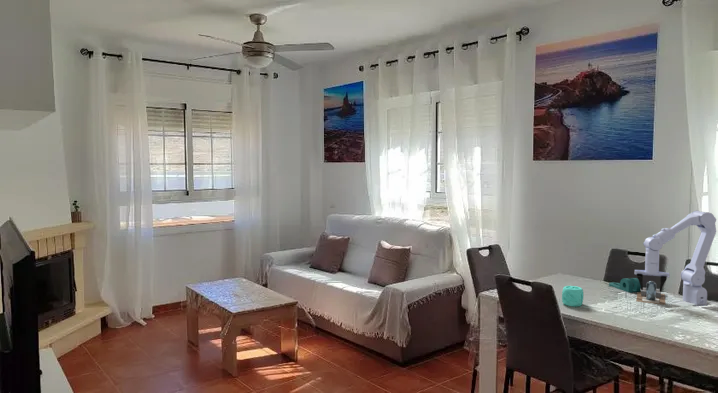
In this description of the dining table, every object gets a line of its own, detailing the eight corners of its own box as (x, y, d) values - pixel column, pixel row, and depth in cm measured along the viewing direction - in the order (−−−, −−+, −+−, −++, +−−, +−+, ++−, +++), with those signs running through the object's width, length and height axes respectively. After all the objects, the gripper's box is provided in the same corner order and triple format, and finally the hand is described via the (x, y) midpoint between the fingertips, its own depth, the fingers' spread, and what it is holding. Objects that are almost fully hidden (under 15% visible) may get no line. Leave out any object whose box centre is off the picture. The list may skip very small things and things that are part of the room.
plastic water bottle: (657, 300, 243) (658, 282, 243) (650, 300, 242) (651, 282, 242) (651, 298, 247) (651, 280, 247) (644, 298, 246) (644, 280, 246)
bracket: (640, 294, 261) (641, 279, 260) (628, 295, 259) (629, 280, 259) (617, 286, 278) (617, 272, 278) (606, 286, 277) (606, 272, 277)
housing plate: (637, 293, 262) (637, 286, 262) (664, 296, 256) (664, 289, 256) (636, 303, 243) (636, 296, 243) (665, 306, 237) (665, 299, 237)
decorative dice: (579, 307, 237) (580, 290, 236) (561, 304, 241) (562, 288, 241) (583, 303, 243) (583, 287, 243) (565, 301, 248) (566, 284, 247)
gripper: (669, 262, 243) (668, 290, 244) (635, 259, 250) (634, 287, 251) (670, 265, 237) (669, 293, 238) (634, 262, 244) (633, 290, 245)
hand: (651, 290), depth 244 cm, fingers open, 7 cm apart
